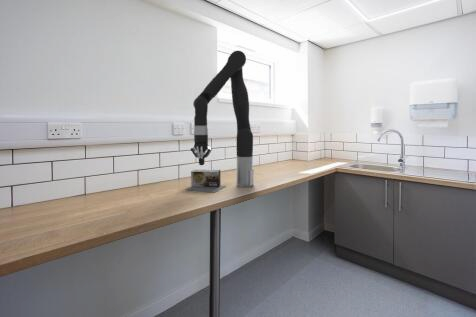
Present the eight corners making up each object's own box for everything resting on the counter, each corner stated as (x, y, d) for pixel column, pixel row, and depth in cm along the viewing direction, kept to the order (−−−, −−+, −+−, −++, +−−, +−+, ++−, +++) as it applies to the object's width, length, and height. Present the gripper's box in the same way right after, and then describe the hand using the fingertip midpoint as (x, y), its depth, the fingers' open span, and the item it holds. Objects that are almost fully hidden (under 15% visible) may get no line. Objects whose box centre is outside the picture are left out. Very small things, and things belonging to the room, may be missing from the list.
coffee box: (193, 184, 155) (220, 185, 154) (191, 186, 149) (219, 187, 148) (193, 169, 154) (220, 169, 153) (190, 171, 148) (219, 171, 147)
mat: (226, 186, 151) (226, 185, 151) (214, 192, 137) (214, 192, 137) (199, 184, 158) (199, 183, 157) (185, 189, 144) (185, 189, 144)
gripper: (214, 133, 146) (215, 164, 148) (194, 133, 151) (194, 163, 153) (208, 134, 139) (209, 166, 141) (187, 134, 144) (187, 165, 146)
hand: (201, 165), depth 147 cm, fingers closed
